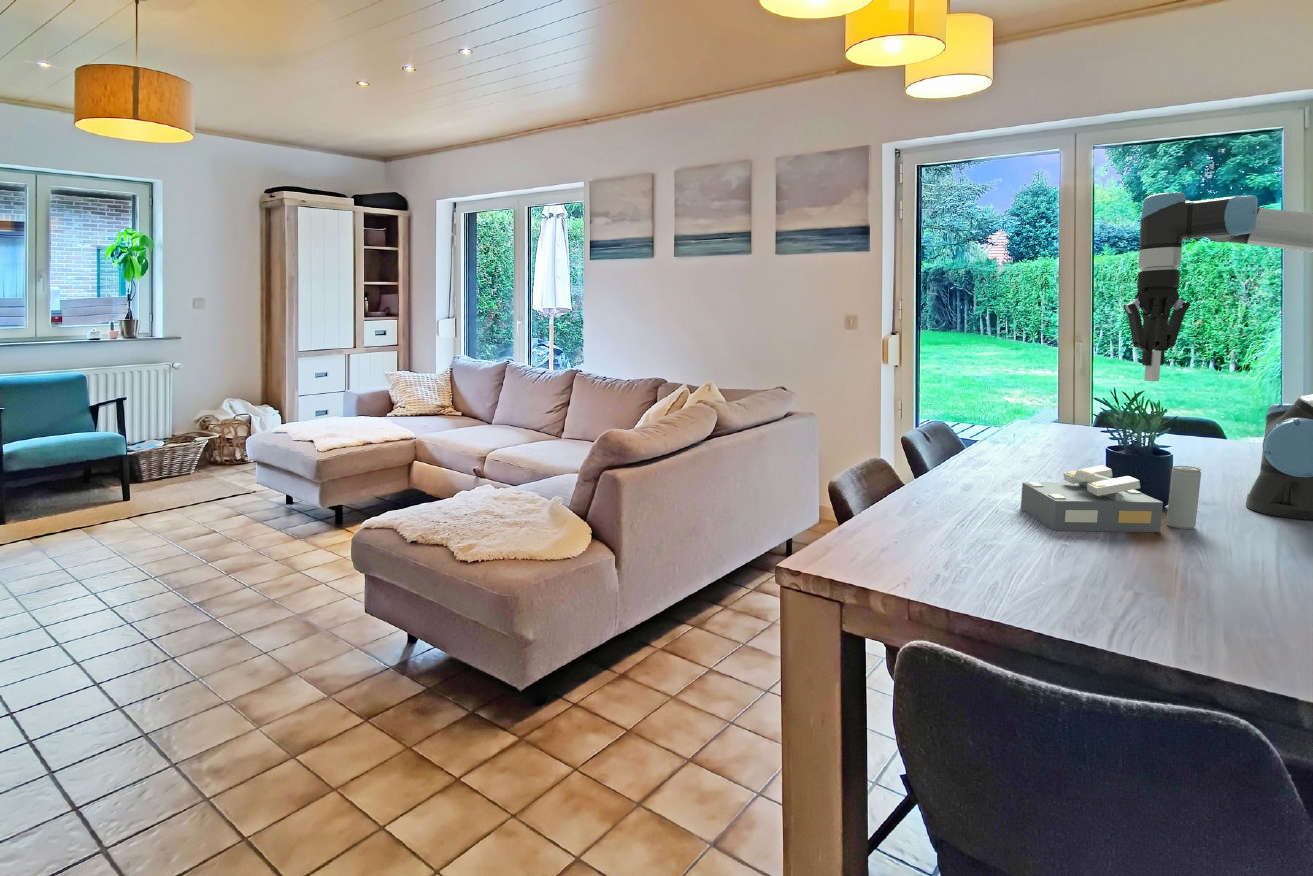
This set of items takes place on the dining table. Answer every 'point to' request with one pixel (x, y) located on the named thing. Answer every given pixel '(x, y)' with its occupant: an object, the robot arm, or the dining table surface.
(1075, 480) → the rocker
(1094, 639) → the dining table surface
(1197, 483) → the beverage can
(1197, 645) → the dining table surface
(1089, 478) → the rocker
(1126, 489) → the plate
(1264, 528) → the dining table surface
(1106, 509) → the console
